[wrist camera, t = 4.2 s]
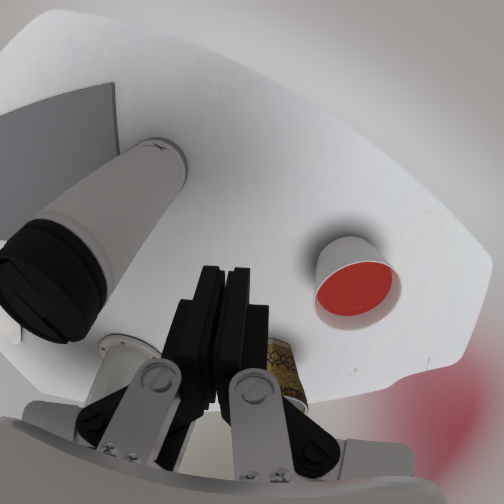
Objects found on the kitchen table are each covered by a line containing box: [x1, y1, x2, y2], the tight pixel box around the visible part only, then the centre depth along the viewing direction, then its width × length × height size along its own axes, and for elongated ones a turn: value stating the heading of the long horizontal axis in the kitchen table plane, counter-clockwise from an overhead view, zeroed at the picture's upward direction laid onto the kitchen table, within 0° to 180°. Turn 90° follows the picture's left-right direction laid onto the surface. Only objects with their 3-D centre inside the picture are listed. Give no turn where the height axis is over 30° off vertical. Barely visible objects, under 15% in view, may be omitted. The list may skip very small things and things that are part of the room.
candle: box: [313, 236, 403, 331], centre depth 29 cm, size 9×9×6 cm
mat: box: [0, 83, 120, 240], centre depth 27 cm, size 18×26×1 cm
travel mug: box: [0, 138, 188, 344], centre depth 18 cm, size 6×7×20 cm
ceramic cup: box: [267, 338, 308, 415], centre depth 37 cm, size 13×10×10 cm
